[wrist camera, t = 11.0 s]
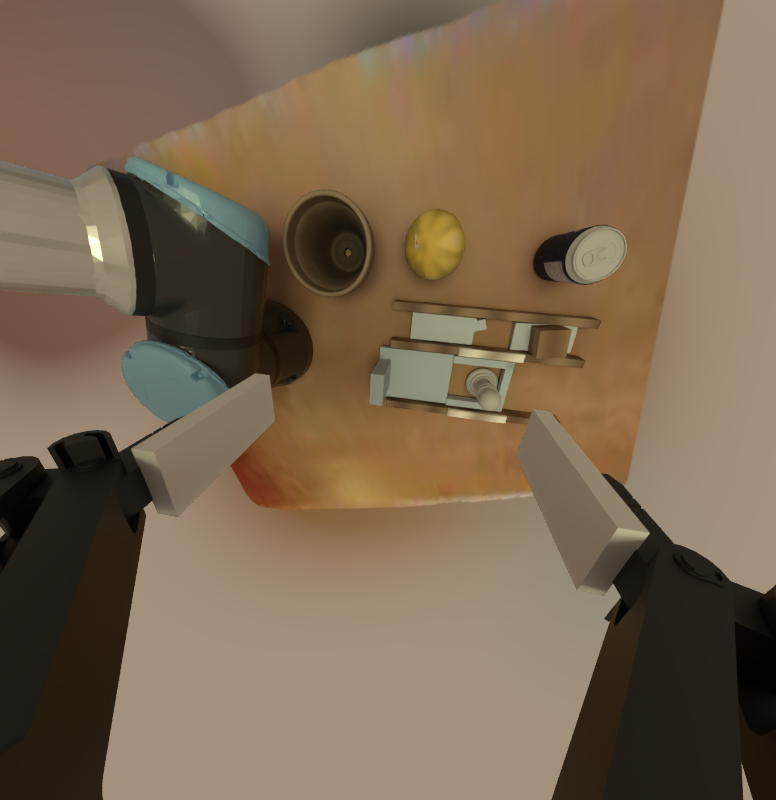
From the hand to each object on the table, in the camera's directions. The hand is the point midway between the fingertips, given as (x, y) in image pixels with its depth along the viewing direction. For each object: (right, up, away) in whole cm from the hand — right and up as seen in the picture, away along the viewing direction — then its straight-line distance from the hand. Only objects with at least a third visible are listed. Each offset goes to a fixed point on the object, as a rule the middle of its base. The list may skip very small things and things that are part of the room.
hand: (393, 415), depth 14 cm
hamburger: (+7, +23, +27) cm, 36 cm away
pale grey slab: (+9, +5, +35) cm, 36 cm away
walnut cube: (+24, +10, +29) cm, 39 cm away
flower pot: (-6, +24, +29) cm, 38 cm away
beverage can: (+23, +21, +25) cm, 40 cm away
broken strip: (+17, +12, +31) cm, 37 cm away
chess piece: (+16, +4, +35) cm, 38 cm away
